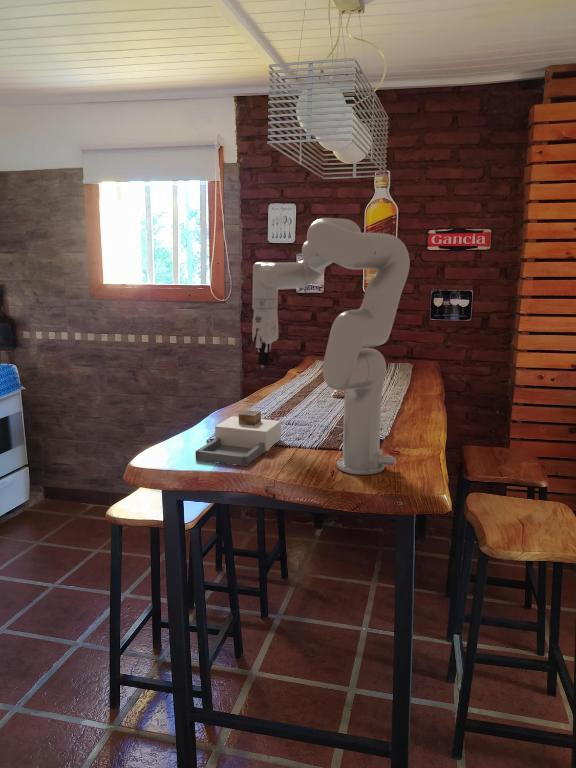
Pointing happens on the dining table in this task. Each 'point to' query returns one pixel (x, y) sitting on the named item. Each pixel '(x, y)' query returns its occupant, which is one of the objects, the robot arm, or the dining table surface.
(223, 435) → the raised plate
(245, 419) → the walnut tile
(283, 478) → the dining table surface
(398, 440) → the dining table surface
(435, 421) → the dining table surface
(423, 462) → the dining table surface
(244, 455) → the box
